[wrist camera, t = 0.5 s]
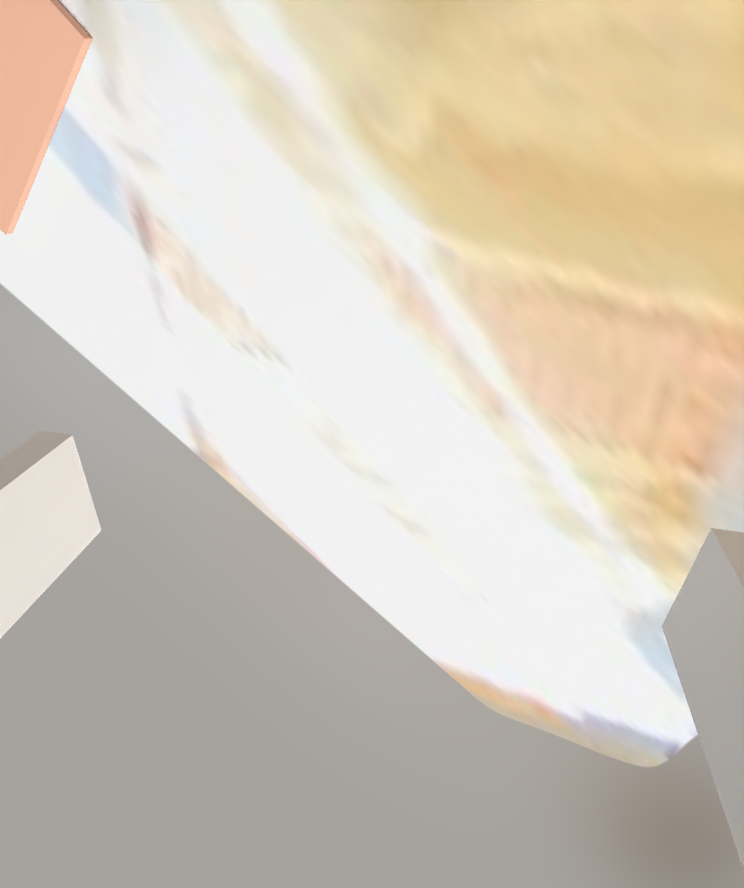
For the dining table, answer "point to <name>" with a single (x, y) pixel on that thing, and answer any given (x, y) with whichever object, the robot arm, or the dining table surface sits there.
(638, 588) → the dining table surface
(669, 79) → the dining table surface
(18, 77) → the mat
